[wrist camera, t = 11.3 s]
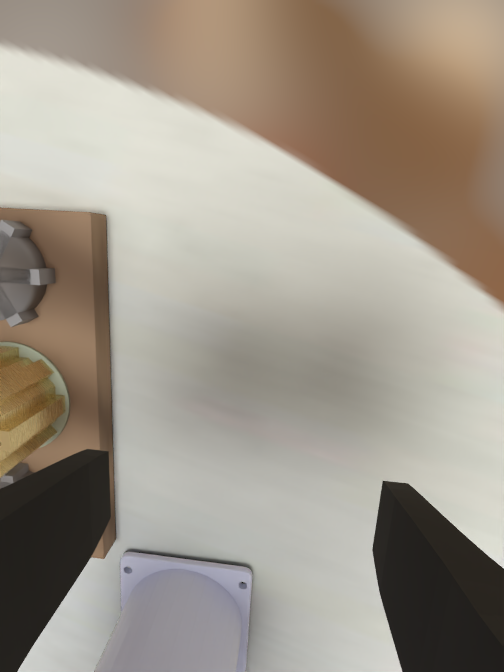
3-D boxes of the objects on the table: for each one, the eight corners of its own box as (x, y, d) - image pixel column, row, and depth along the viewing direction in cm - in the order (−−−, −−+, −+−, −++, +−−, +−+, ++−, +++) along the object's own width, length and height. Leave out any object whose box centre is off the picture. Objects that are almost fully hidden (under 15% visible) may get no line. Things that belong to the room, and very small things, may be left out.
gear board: (115, 539, 23) (67, 619, 18) (-22, 521, 24) (-104, 594, 19) (106, 215, 19) (38, 203, 14) (-61, 206, 20) (-182, 192, 15)
